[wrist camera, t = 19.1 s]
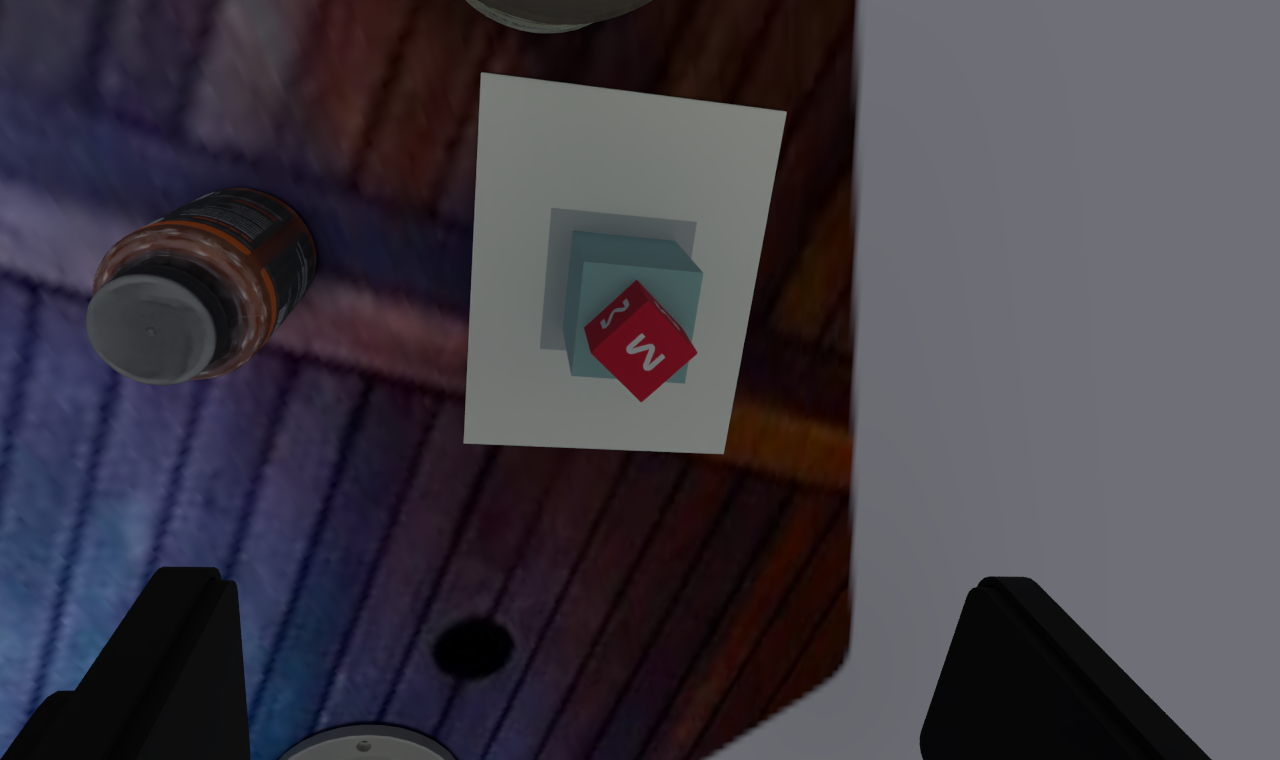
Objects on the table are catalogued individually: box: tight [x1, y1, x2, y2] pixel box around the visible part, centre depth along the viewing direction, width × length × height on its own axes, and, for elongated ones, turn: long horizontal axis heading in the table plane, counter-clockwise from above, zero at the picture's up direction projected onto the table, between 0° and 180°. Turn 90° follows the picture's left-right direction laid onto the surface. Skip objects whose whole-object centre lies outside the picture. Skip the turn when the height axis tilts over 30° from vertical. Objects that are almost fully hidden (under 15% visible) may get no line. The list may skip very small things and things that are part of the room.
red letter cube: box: [584, 280, 698, 402], centre depth 32 cm, size 3×3×3 cm
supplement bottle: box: [86, 188, 317, 386], centre depth 31 cm, size 6×6×11 cm
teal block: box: [563, 231, 703, 384], centre depth 36 cm, size 5×5×6 cm
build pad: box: [464, 72, 787, 454], centre depth 39 cm, size 18×14×1 cm
